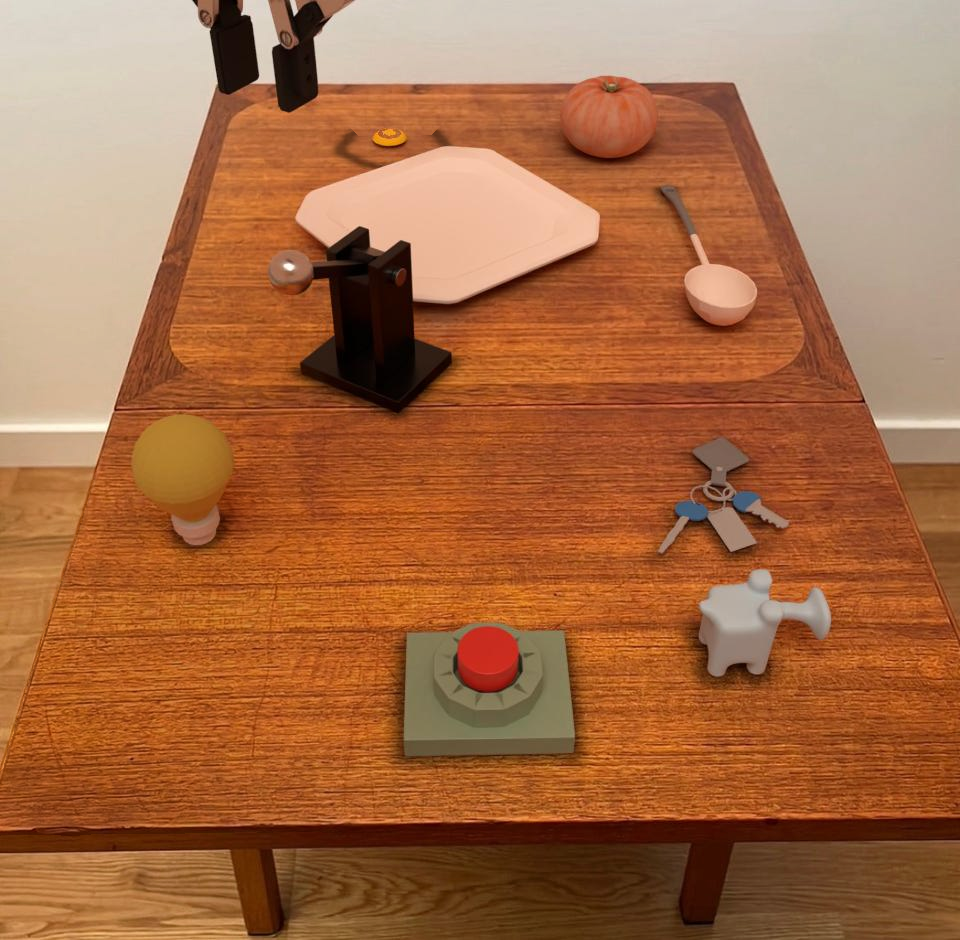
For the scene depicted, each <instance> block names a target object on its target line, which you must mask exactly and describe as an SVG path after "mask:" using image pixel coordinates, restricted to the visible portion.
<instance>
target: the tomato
mask: <svg viewBox="0 0 960 940" xmlns="http://www.w3.org/2000/svg"><path fill="white" fill-rule="evenodd" d="M559 119H560V120H559V121H560V127H561V130H562V132H563V134H564V136H565V138H566V139H567V140H568V141H569V143H570V144H571V145H572V146H573V147H574V148H576V149H577V150H579V151H581V152H583V153H585V154H587V155H589V156H593V157H596V158H602V159H603V158H604V159H616V158H622V157H626V156H629V155H631V154H634V153H636V152H638V151H639V150H640V149H642V148H643V147H645V146H646V145H647V144H648V143H649V142H650V141H651V139H652V137H653V136H654V134H655V132H656V130H657V127H658V122H659V110H658V105H657V102H656V100H655V97H654V96H653V94H652V93H651V91H650V90H649V89H648V88H647V87H646V86H644V85H643V84H640V82H638V81H636V80H634V79H631V78H628V77H625V76H623V77H622V76H615V75H599V76H596V77H590V78H586V79H584V80H582V81H580V82H578V83H577V84H575V85H574V86H573V87H572V88H571V89H570V90H569V91H568V92H567V94H566V96H565V97H564V99H563V101H562V103H561V106H560V113H559Z"/></svg>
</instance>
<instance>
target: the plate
mask: <svg viewBox="0 0 960 940" xmlns="http://www.w3.org/2000/svg"><path fill="white" fill-rule="evenodd" d="M294 220H295V222H296V225H298V226H300V228H302V229H303V230H305V232H307V233H308V234H310V235H311V236H312V237H313V238H315V239H316V240H317V241H319V242H320V243H321V244H322V245H324V246H325V247H326V248H327V249H328V248H329V247H331V246H332V245H334V244H335V243H336V242H338V241H339V240H340V239H342V238H343V237H345V236H346V235H347V234H349V233H350V232H352V231H353V230H354V229H356V228H357V227H358V226H361V227H364V228H367V229H369V236H370V247H372V248H375V249H378V250H381V251H384V252H386V251H387V250H388V249H389V248H391V247H392V246H393V245H395V244H396V243H397V242H399V241H400V240H403V241H406V242H409V243H411V262H412V287H413V302H417V303H430V304H443V305H452V304H457V303H460V302H463V301H465V300H467V299H470V298H472V297H474V296H476V295H479V294H482V293H483V292H486V291H488V290H490V289H493V288H495V287H498V286H500V285H503V284H505V283H507V282H510V281H512V280H514V279H517V278H519V277H521V276H524V275H527V274H528V273H531V272H533V271H535V270H538V269H540V268H542V267H545V266H547V265H550V264H552V263H555V262H557V261H560V260H562V259H564V258H566V257H568V256H571V255H573V254H576V253H579V252H580V251H582V250H583V251H584V250H585V249H588V248H590V247H592V246H594V245H595V244H596V243H597V242H598V240H599V236H600V235H599V234H600V222H601V215H600V213H599V212H598V211H597V209H595V208H593V207H591V206H590V205H588V204H586V203H584V202H583V201H581V200H579V199H577V198H575V197H574V196H572V195H570V194H569V193H567V192H565V191H564V190H562V189H561V188H558V187H557V186H555V185H553V184H551V183H550V182H548V181H547V180H545V179H543V178H541V177H539V176H538V175H536V174H535V173H533V172H531V171H529V170H527V169H526V168H525V167H523V166H520V165H519V164H517V163H515V162H514V161H512V160H510V159H509V158H507V157H506V156H503V155H502V154H500V153H498V152H497V151H495V150H493V149H490V148H484V147H469V146H454V145H451V146H450V145H446V146H444V145H443V146H440V147H436V148H434V149H431V150H428V151H425V152H422V153H419V154H416V155H413V156H410V157H407V158H405V159H402V160H398V161H395V162H393V163H390V164H386V165H384V166H381V167H378V168H376V169H372V170H369V171H366V172H364V173H360V174H357V175H354V176H352V177H348V178H345V179H342V180H340V181H336V182H333V183H330V184H328V185H325V186H322V187H319V188H316V189H313V190H311V191H310V192H308V193H307V194H306V195H305V196H304V198H303V200H302V202H301V204H300V206H299V209H298V210H297V212H296V214H295V217H294Z"/></svg>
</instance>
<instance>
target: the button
mask: <svg viewBox="0 0 960 940" xmlns="http://www.w3.org/2000/svg"><path fill="white" fill-rule="evenodd" d="M518 655H519V649H518V644H517V642H516V640H515V639H514V637H513V636H512V635H511V634H510V633H508V632H507V631H505V630H503V629H501V628H498V627H492V626H483V627H478V628H475V629H473V630H471V631H469V632H468V633H466V634H465V635H464V636H463V637H462V639H461V640H460V642H459V644H458V672H459V675H460V677H461V679H462V680H463V681H464V683H465V684H467V685H468V686H469V687H471V688H473V689H475V690H478V691H483V692H494V691H498V690H501V689H503V688H505V687H507V686H508V685H509V684H511V683H512V681H513V680H514V679H515V677H516V675H517V671H518Z"/></svg>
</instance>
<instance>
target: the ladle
mask: <svg viewBox="0 0 960 940" xmlns="http://www.w3.org/2000/svg"><path fill="white" fill-rule="evenodd" d="M659 189H660V191H661V192H662V194H663V195H664V196H665V197H666V198H667V199H668V200H669V201H670V203H671V204H672V205H673V206H674V208H675V210H676V211H677V213H678V215H679V217H680V219H681V221H682V223H683V226H684V227H685V230H686V232H687V235H688V237H689V239H690V241H691V243H692V245H693V247H694V250H695V252H696V255H697V257H698V259H699V262H700V265H697V266H694V267H692V268H691V269H689V270H688V271H687V272H686V273H685V276H684V279H683V283H684V291H685V295H686V298H687V300H688V303H689V306H690V307H691V308H692V310H693V311H694V312H695V313H696V314H697V315H698V316H699V317H700V318H701V319H703V320H704V321H705V322H708V323H709V324H712V325H715V326H723V327H726V326H732V325H734V324H737V323H738V322H741V321H742V320H744V319H746V317H747V316H748V315H749V313H750V312H751V311H752V309H753V308H754V307H755V303H756V300H757V296H758V288H757V286H756V283H755V282H754V281H753V279H751V278H750V276H748V275H747V274H745V273H744V272H743V271H741V270H739V269H736V268H734V267H731V266H728V265H723V264H719V263H718V264H717V263H710V261H709V259H708V256H707V254H706V252H705V250H704V247H703V244H702V242H701V240H700V238H699V234H698V232H697V230H696V227H695V225H694V223H693V221H692V219H691V216H690V215H689V211H688V210H687V208H686V206H685V204H684V203H683V200H682V199H681V197H680V194H679V192H678V191H677V189H676V188H675V187H674V186H673V185H672V184H664V185H661V186H660V187H659Z"/></svg>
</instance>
